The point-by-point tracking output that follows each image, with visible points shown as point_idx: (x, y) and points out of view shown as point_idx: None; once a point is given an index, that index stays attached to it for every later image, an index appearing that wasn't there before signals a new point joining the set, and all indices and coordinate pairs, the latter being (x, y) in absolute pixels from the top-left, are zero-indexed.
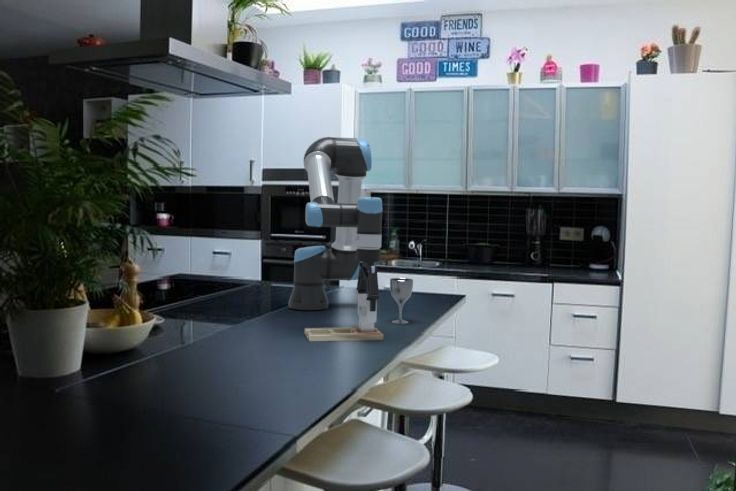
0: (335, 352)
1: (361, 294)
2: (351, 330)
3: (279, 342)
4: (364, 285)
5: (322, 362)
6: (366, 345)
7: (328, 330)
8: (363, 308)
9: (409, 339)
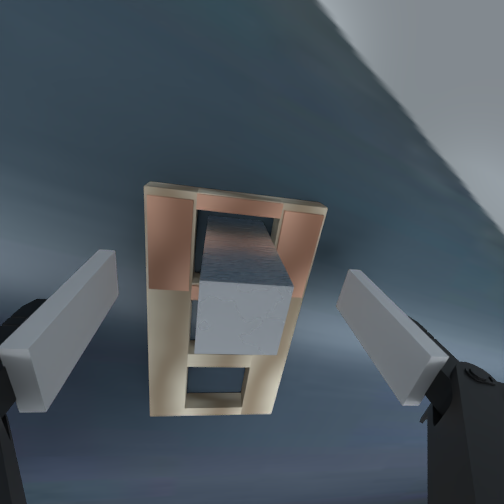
0: None
1: (43, 386)
2: None
3: (260, 445)
4: (18, 499)
5: None
6: None
7: (201, 366)
8: (278, 345)
9: (349, 71)
